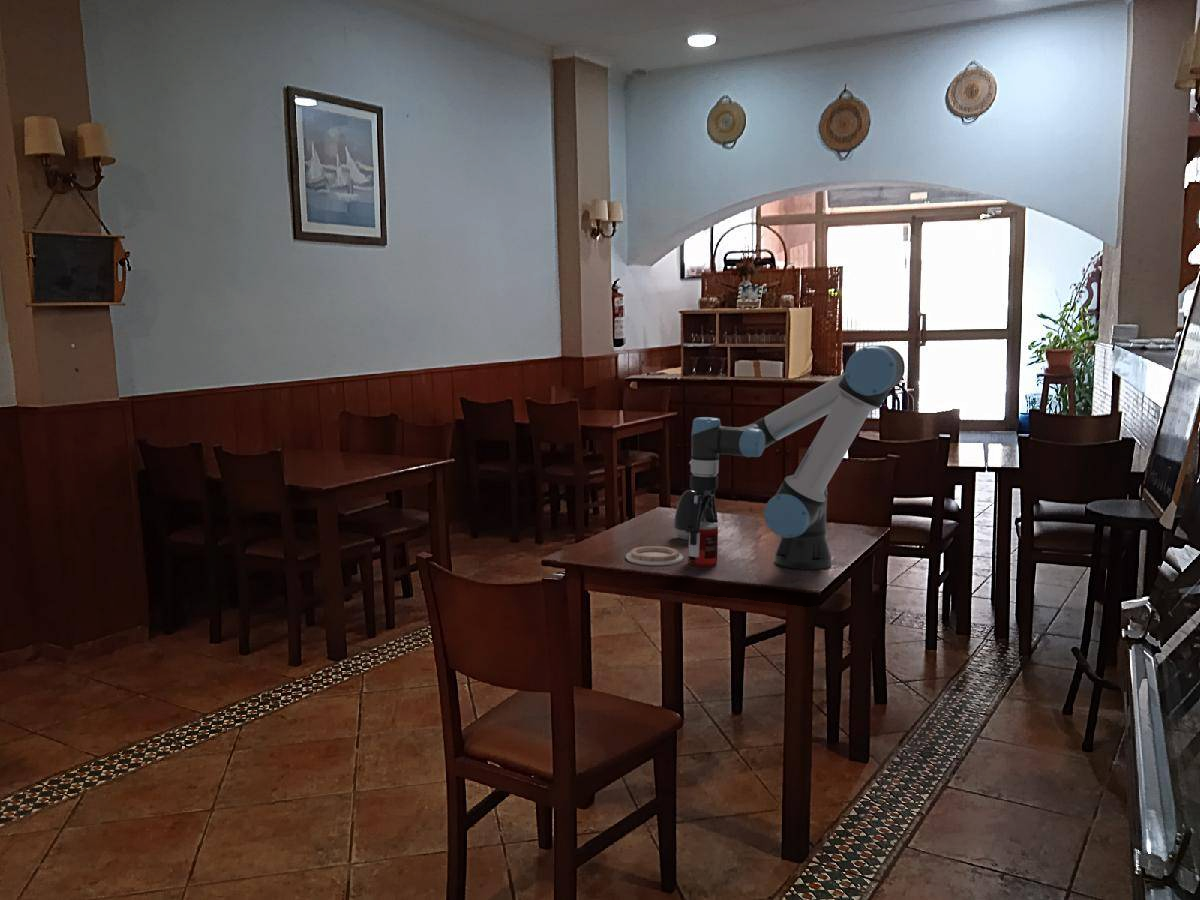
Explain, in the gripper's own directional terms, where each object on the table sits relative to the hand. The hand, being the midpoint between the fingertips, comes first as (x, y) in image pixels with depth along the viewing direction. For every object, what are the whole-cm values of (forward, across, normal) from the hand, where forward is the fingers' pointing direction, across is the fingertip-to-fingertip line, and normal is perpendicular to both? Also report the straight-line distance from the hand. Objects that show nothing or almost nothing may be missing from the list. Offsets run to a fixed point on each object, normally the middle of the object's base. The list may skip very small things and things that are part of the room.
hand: (701, 551), depth 262 cm
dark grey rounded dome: (+4, -29, -12) cm, 32 cm away
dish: (+4, 0, -14) cm, 14 cm away
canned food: (+4, 0, 0) cm, 4 cm away
